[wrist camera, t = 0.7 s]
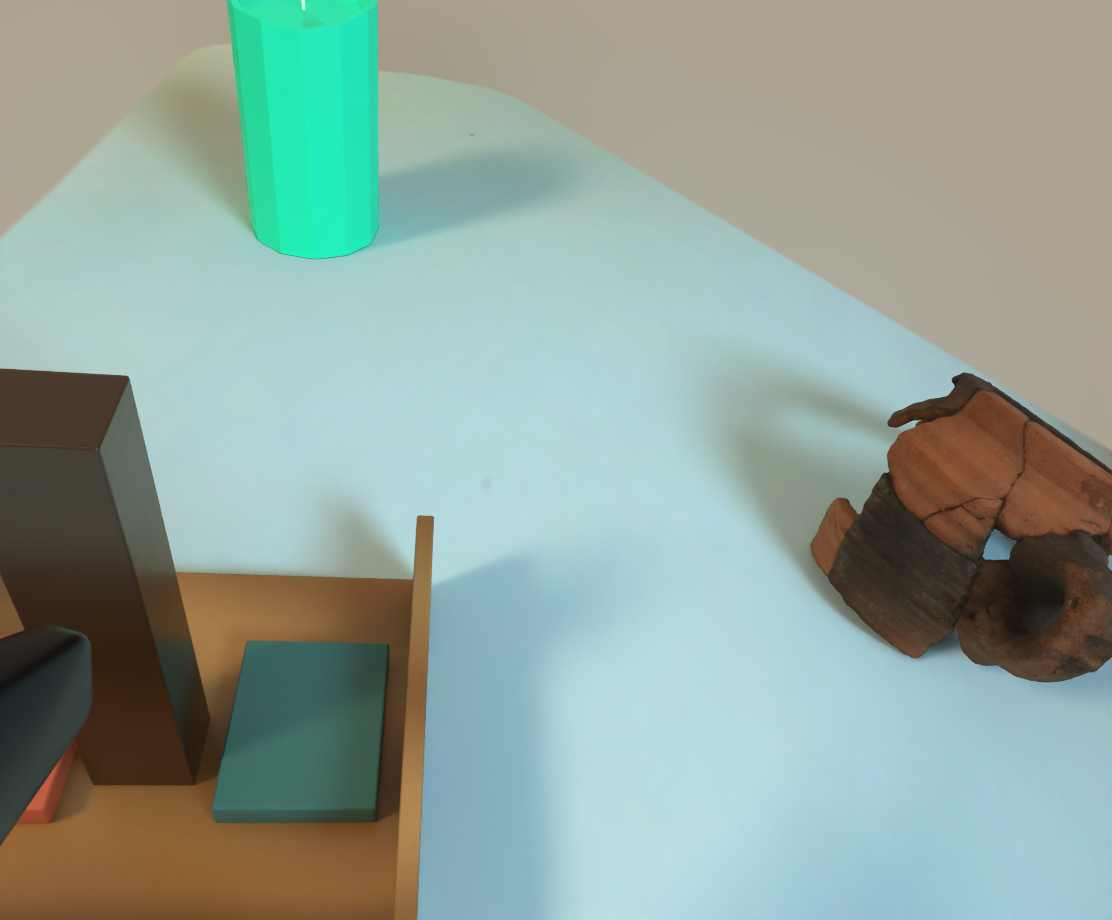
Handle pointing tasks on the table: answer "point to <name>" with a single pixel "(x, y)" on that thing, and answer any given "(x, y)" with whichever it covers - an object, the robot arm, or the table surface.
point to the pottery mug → (981, 539)
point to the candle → (309, 121)
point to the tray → (182, 689)
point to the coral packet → (49, 790)
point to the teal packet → (304, 734)
